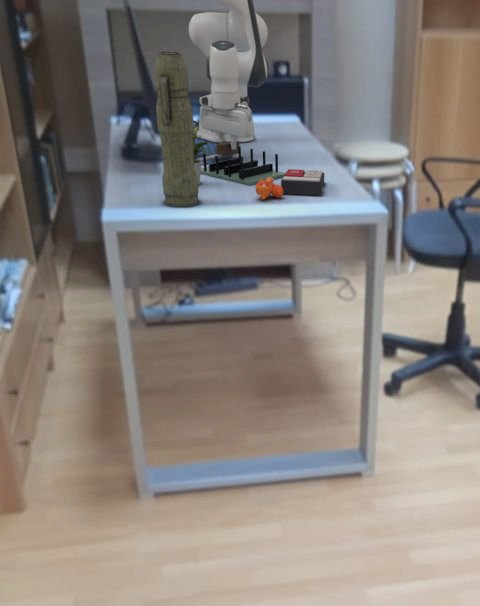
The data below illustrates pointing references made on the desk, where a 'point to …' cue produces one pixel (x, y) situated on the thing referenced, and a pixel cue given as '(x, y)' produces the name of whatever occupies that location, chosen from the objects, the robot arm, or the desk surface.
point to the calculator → (302, 182)
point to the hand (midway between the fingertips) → (228, 148)
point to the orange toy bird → (268, 188)
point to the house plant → (196, 150)
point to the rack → (242, 169)
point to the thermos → (176, 130)
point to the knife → (223, 151)
